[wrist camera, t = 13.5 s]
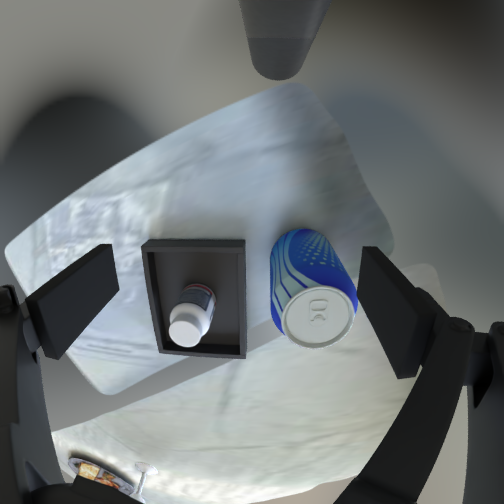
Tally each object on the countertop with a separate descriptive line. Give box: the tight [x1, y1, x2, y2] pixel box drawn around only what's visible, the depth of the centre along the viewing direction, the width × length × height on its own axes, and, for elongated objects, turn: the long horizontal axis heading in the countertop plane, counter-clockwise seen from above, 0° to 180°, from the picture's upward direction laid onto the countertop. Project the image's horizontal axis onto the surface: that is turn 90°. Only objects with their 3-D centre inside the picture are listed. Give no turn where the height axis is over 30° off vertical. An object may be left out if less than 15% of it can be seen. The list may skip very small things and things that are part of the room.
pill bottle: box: [169, 284, 216, 347], centre depth 39 cm, size 5×5×9 cm
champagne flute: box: [129, 463, 158, 504], centre depth 53 cm, size 7×7×24 cm
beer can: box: [270, 229, 358, 349], centre depth 33 cm, size 8×8×16 cm
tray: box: [141, 240, 247, 359], centre depth 42 cm, size 18×14×3 cm
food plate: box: [68, 458, 135, 495], centre depth 69 cm, size 25×23×4 cm
